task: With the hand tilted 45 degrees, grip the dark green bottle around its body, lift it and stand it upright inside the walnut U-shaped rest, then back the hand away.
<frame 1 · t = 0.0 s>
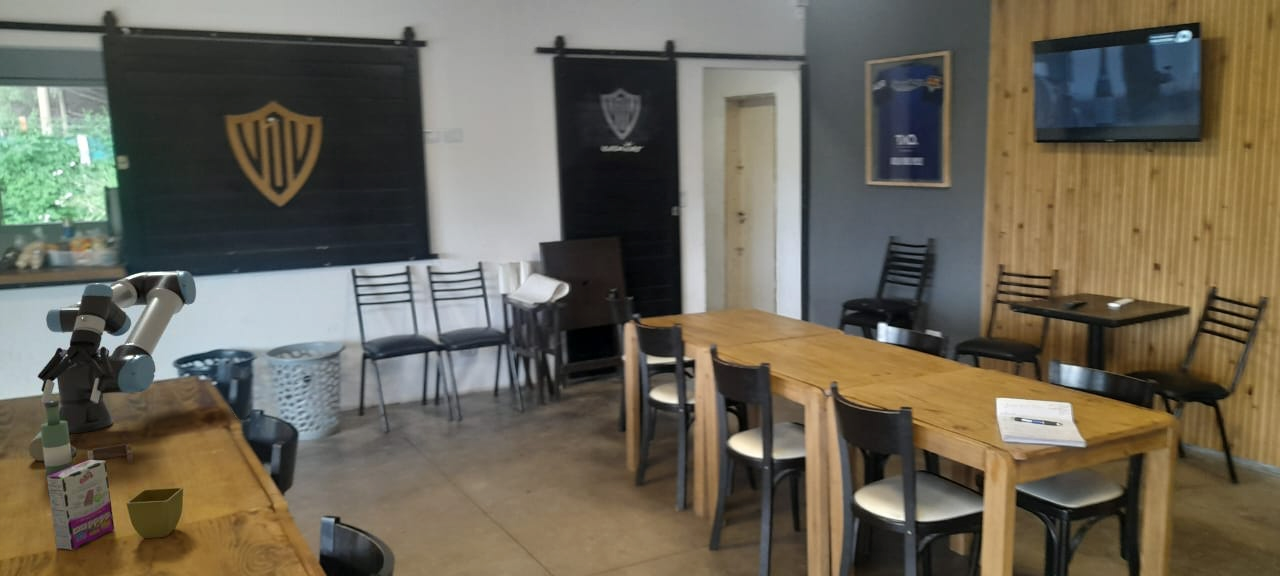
hand: (69, 402, 259), 15 cm above the table, tool tilted 35°, fingers open, 13 cm apart
bottle: (60, 475, 245), on the table
candy bar box: (85, 540, 202), on the table
ceramic mug: (54, 457, 260), on the table
flower pot: (159, 534, 204), on the table
u rest: (110, 461, 255), on the table
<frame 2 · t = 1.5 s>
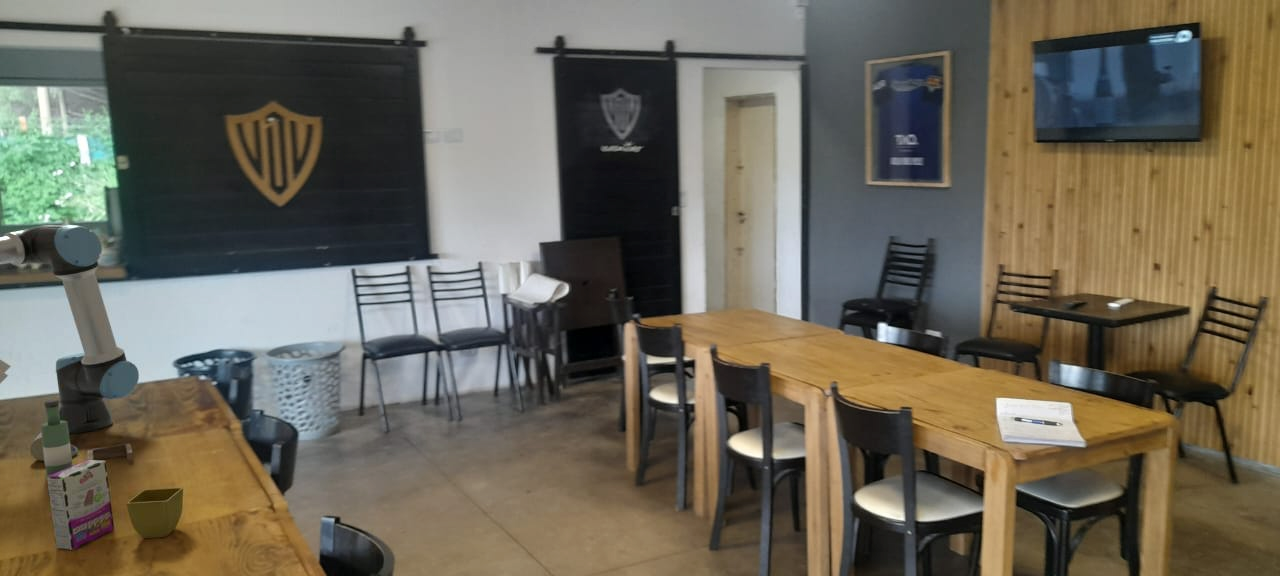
hand: (5, 374, 242), 27 cm above the table, tool tilted 45°, fingers open, 13 cm apart
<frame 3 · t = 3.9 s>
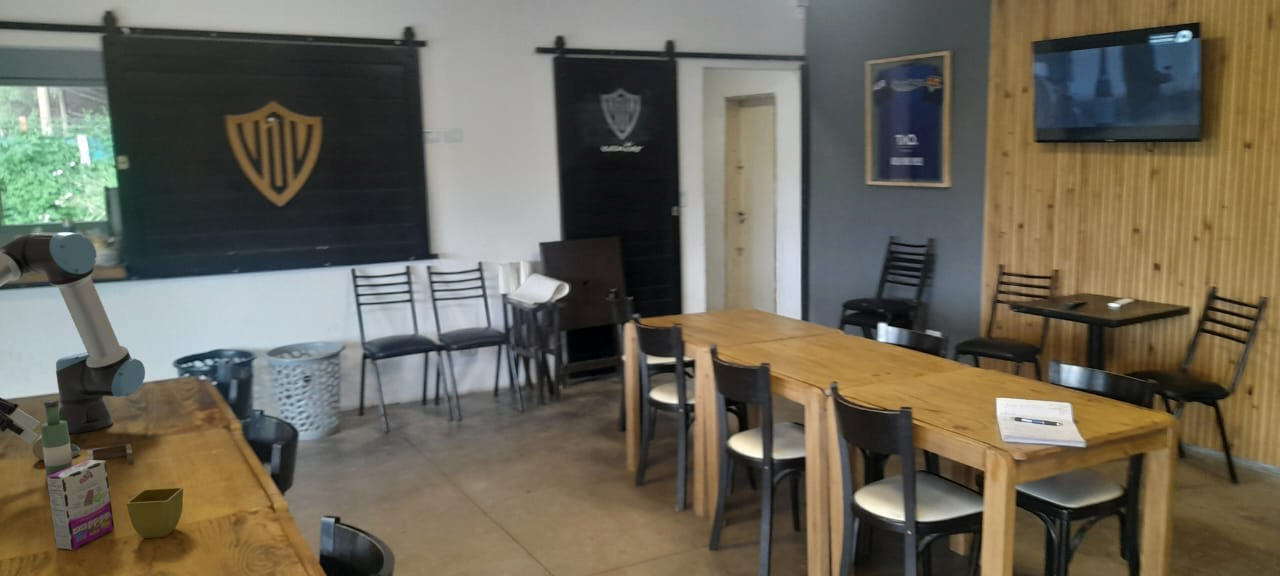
hand: (35, 432, 240), 13 cm above the table, tool tilted 45°, fingers open, 13 cm apart
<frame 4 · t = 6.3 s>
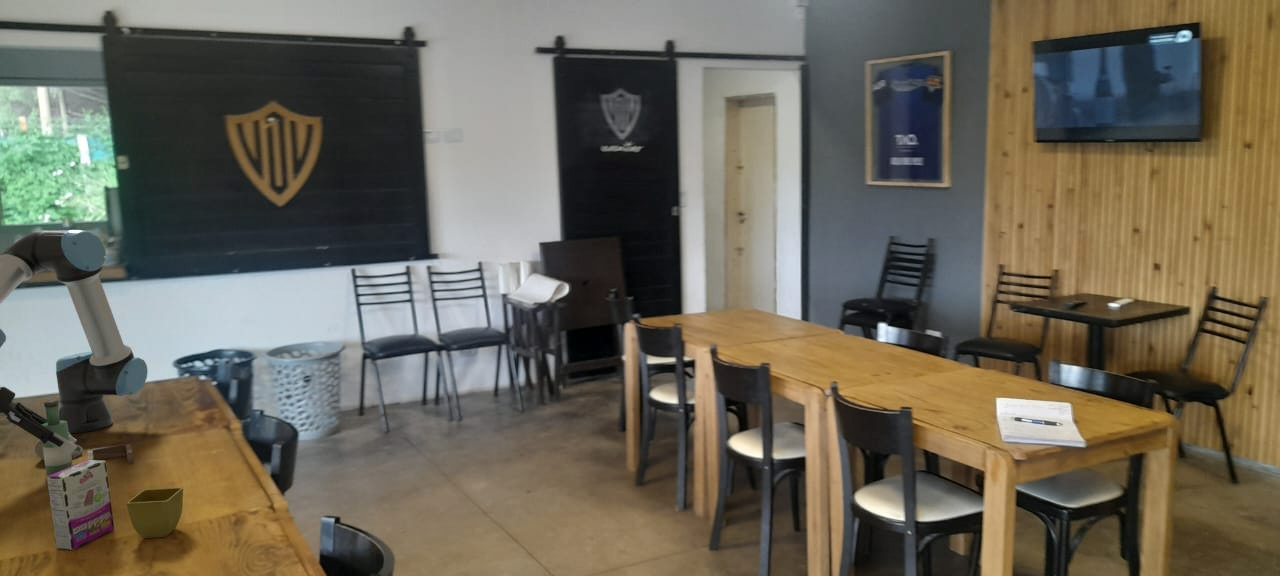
hand: (73, 447, 246), 7 cm above the table, tool tilted 45°, fingers closed on bottle, 6 cm apart
bottle: (60, 475, 245), on the table, touching gripper
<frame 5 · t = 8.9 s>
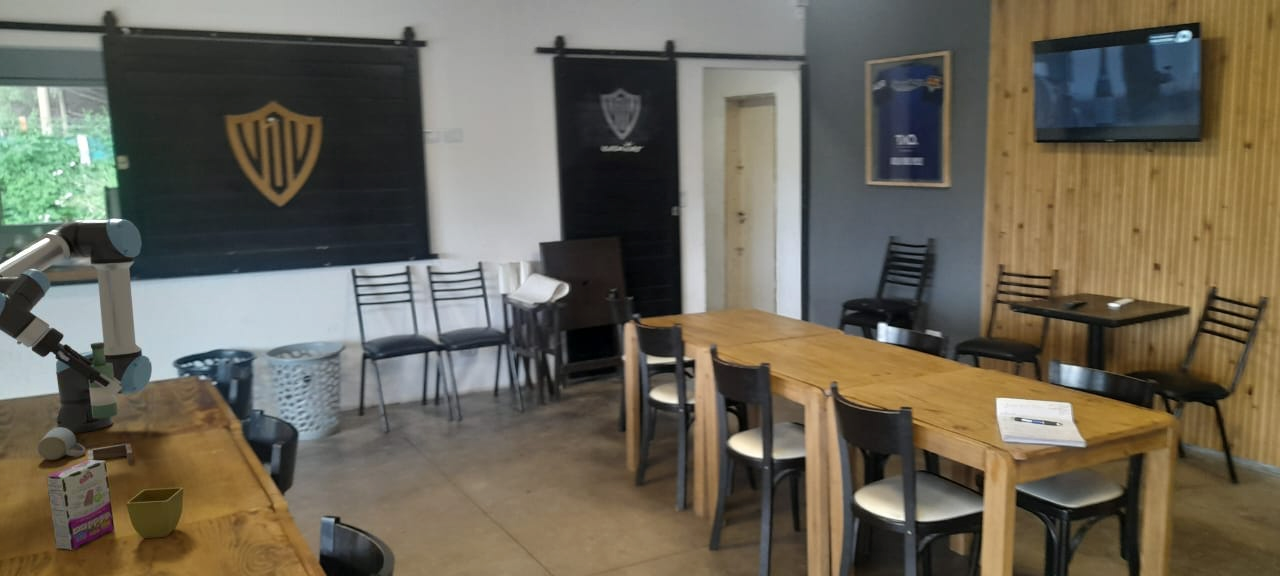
hand: (117, 388, 254), 20 cm above the table, tool tilted 45°, fingers closed on bottle, 6 cm apart
bottle: (105, 415, 253), point 13 cm above the table, touching gripper
when the fingers open (8 cm above the table, at t = 11.9 s): bottle drops 1 cm, on the table.
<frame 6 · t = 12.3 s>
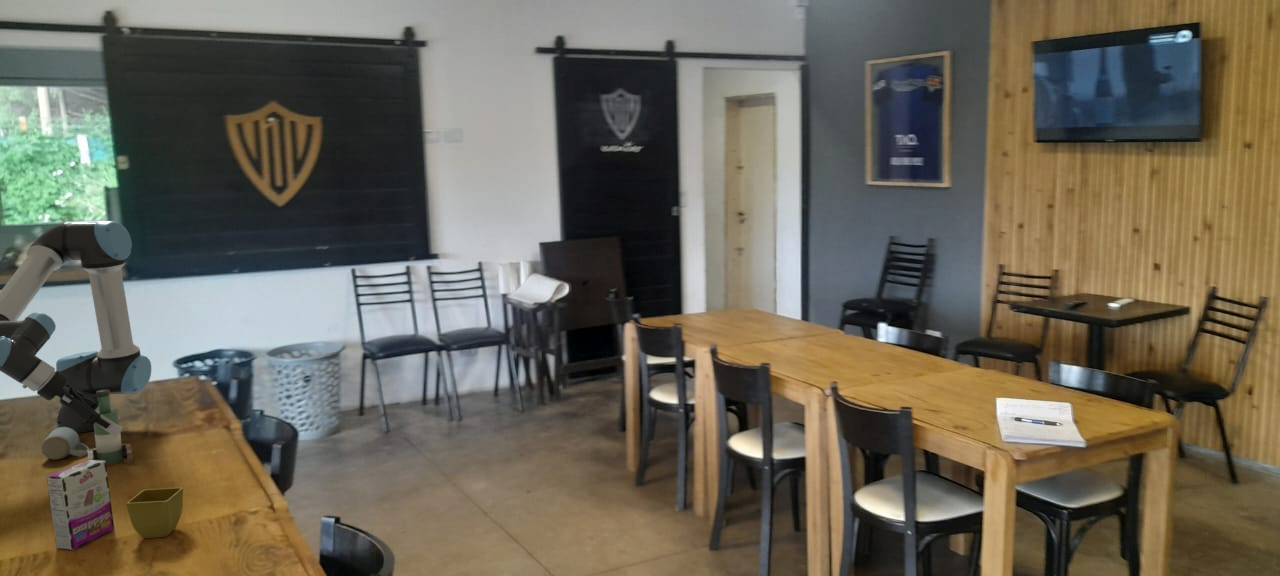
hand: (118, 427, 255), 9 cm above the table, tool tilted 45°, fingers open, 12 cm apart
bottle: (110, 461, 255), on the table
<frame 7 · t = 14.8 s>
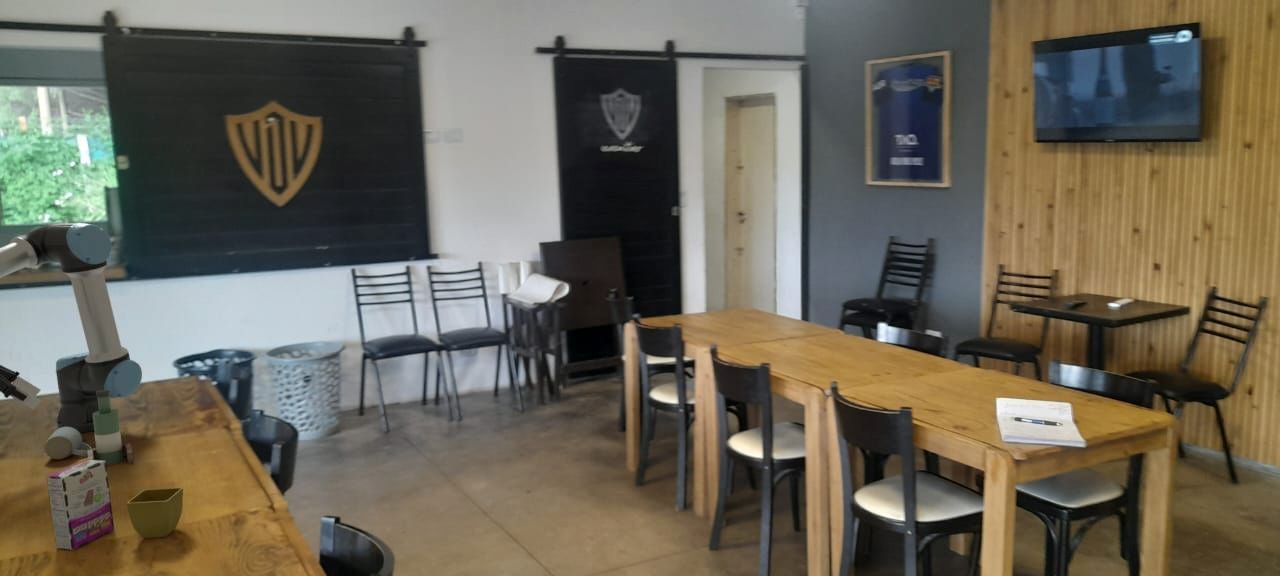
hand: (37, 399, 247), 19 cm above the table, tool tilted 45°, fingers open, 13 cm apart
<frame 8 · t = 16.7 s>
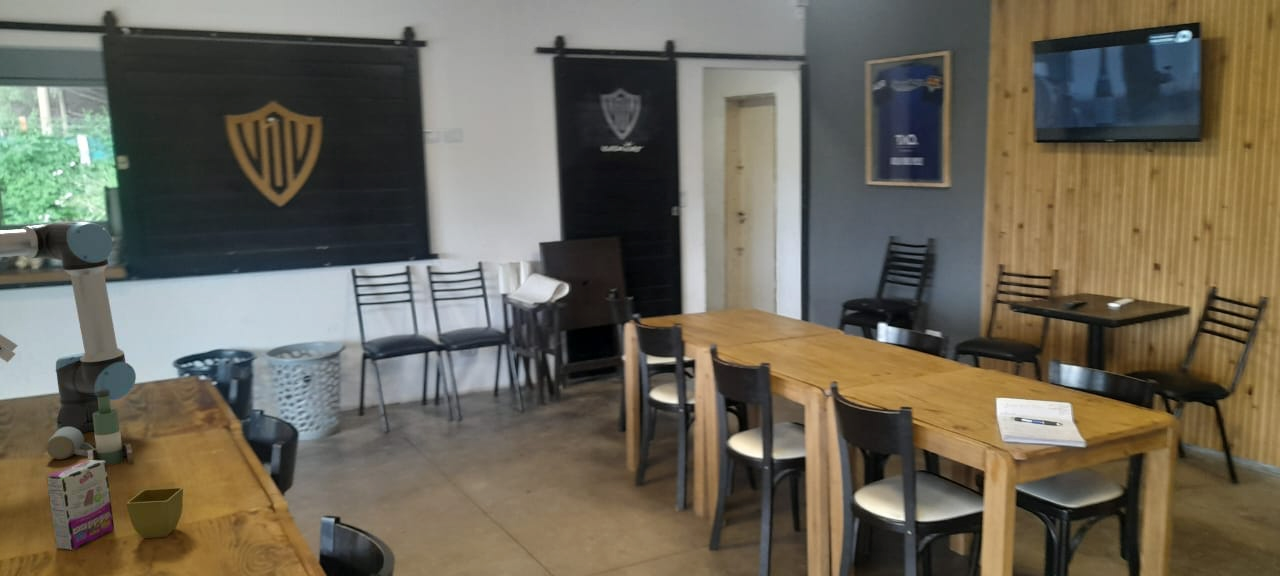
hand: (13, 353, 247), 32 cm above the table, tool tilted 45°, fingers open, 13 cm apart
at the end: bottle 0.1 cm from the u rest (horizontally); bottle tilted 0°; bottle on the table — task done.
